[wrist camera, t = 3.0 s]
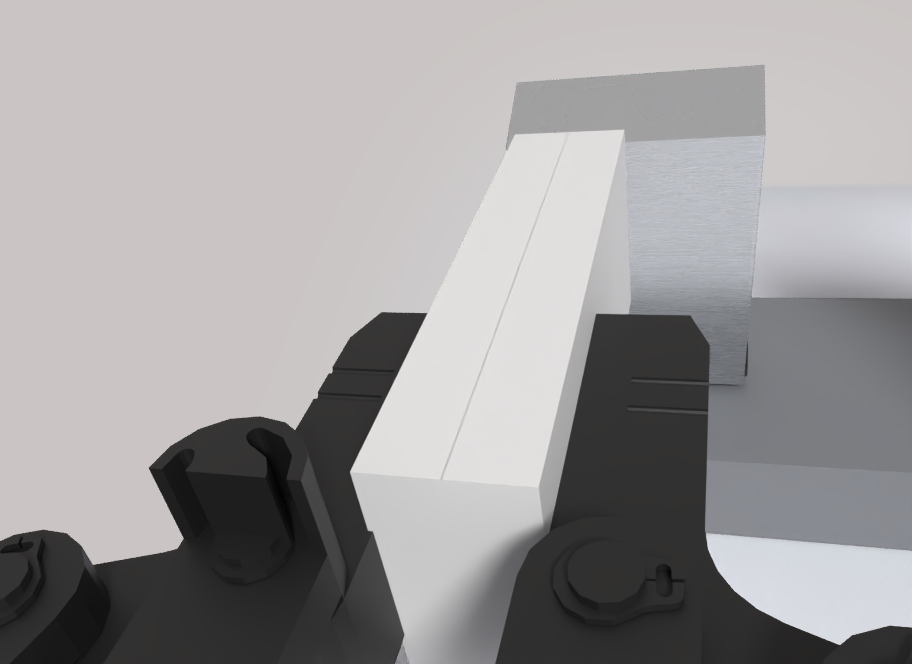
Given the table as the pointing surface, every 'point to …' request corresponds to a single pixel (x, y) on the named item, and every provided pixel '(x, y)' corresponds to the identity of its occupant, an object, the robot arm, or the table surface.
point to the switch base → (817, 426)
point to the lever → (677, 187)
